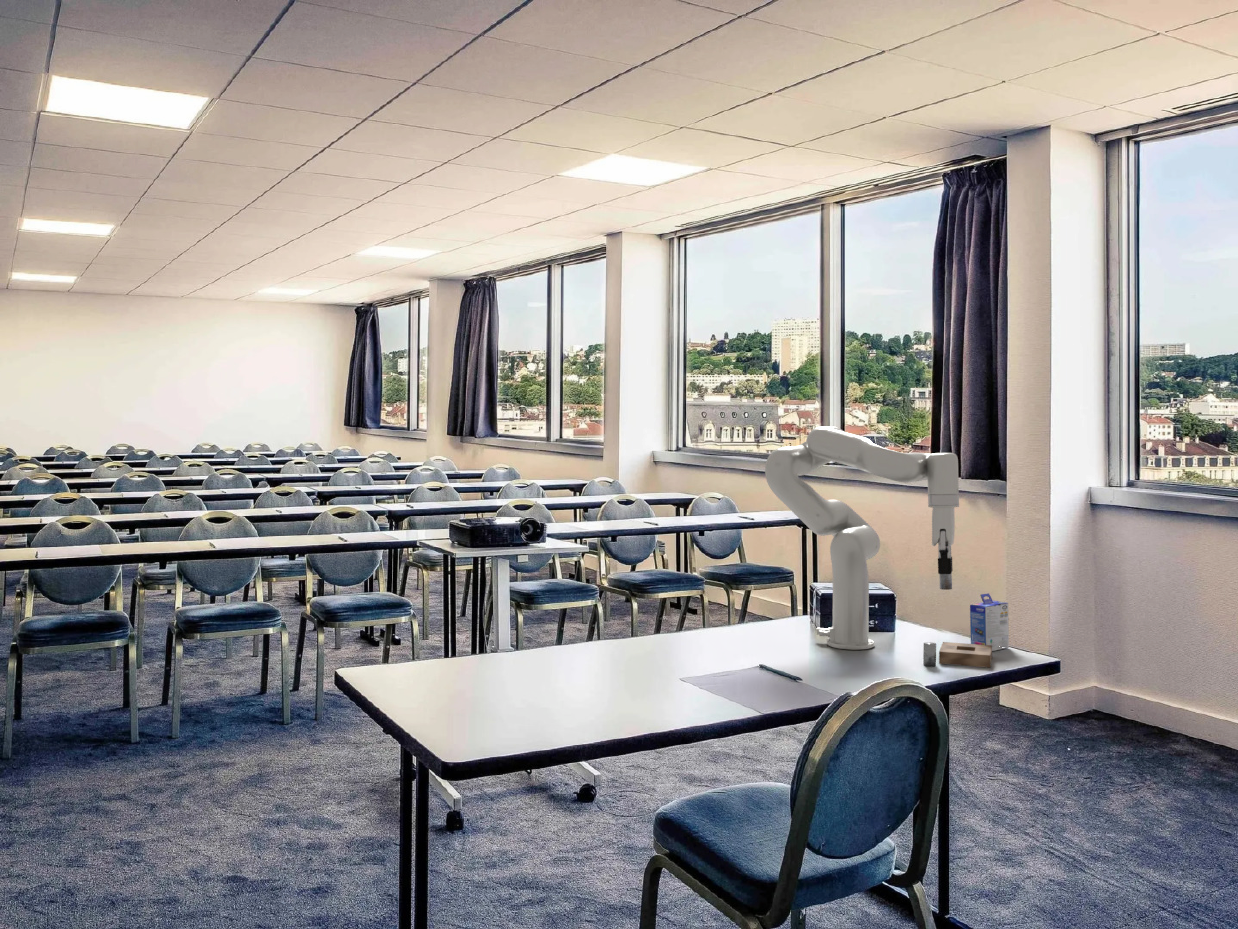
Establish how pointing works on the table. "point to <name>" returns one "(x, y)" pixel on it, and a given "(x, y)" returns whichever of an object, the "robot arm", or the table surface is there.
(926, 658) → the short pin
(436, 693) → the table surface
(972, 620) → the ink cartridge box
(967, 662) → the socket block
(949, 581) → the long pin
